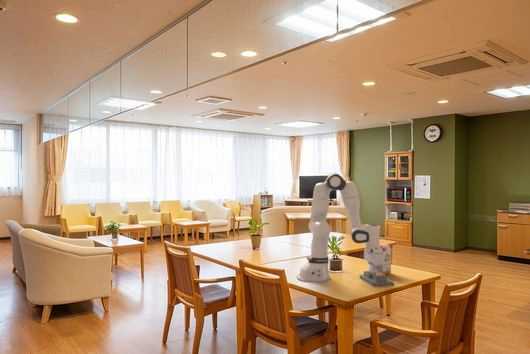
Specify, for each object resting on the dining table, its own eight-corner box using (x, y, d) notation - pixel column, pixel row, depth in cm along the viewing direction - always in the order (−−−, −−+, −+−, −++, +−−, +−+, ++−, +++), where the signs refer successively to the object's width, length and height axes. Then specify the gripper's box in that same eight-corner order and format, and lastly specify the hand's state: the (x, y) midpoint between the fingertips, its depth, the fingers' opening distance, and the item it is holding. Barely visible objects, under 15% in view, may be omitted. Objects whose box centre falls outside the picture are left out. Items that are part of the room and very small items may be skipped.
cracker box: (383, 277, 262) (383, 246, 262) (374, 275, 266) (374, 245, 266) (391, 273, 273) (391, 243, 273) (383, 271, 277) (383, 242, 277)
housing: (372, 286, 241) (372, 277, 241) (359, 278, 260) (359, 269, 260) (393, 285, 243) (393, 276, 243) (379, 277, 263) (379, 268, 263)
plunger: (378, 280, 244) (377, 274, 244) (374, 278, 249) (374, 272, 249) (384, 279, 245) (384, 274, 245) (381, 277, 249) (381, 272, 249)
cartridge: (370, 277, 254) (370, 263, 254) (367, 275, 259) (367, 261, 259) (378, 277, 255) (378, 262, 255) (374, 275, 260) (374, 261, 260)
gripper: (361, 245, 266) (361, 266, 266) (374, 251, 246) (375, 273, 246) (370, 245, 267) (370, 265, 267) (384, 251, 247) (384, 272, 247)
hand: (372, 269), depth 257 cm, fingers closed on cartridge, 5 cm apart
